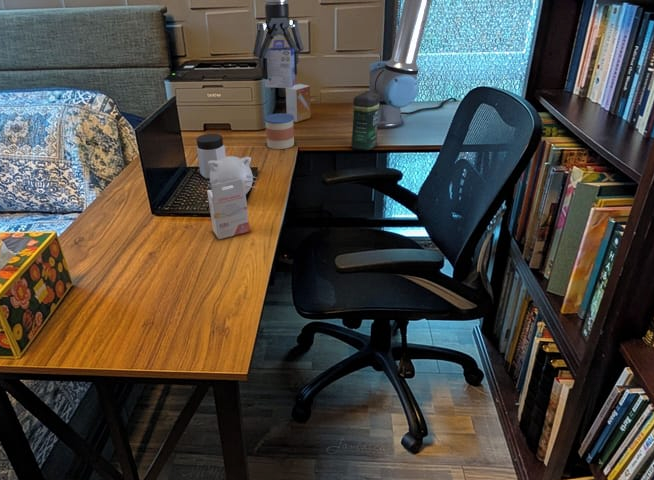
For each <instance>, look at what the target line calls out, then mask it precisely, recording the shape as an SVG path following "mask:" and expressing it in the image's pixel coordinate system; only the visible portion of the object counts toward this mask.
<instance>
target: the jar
mask: <svg viewBox="0 0 654 480" xmlns="http://www.w3.org/2000/svg"><path fill="white" fill-rule="evenodd" d="M195 141H196V154H197V161H198V167H199V174H200V175H201V176H202V177H203V178H204V179H208V180H209V179H210V172H211V168H210V167H209V165H208V161H218V160H219V159H221V158H224V157H227V154H226V145H224V139H223V136H222V134H219V133H205V134H201V135H198V136H197V137H196V139H195Z"/></svg>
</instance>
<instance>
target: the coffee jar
mask: <svg viewBox="0 0 654 480" xmlns="http://www.w3.org/2000/svg"><path fill="white" fill-rule="evenodd" d="M379 98H380V97H379V95H378V94H377V92H371V91H369V90H366V91H364V92H361V93H359V94H358V95H356V96H354V97H353V102H352V110H353V111H352V113H353V115H352V116H353V117H352V131H351V148H352V149H355V150H356V151H370V150H372V149H373V148H375V147H376V146H377V144H378V128H377V122H378V109H379Z"/></svg>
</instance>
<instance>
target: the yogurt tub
mask: <svg viewBox="0 0 654 480" xmlns="http://www.w3.org/2000/svg"><path fill="white" fill-rule="evenodd" d="M293 120H294V116H293V115H291V114H287V113H283V112H282V113H281V112H279V113H272V114H268V115H266V116H265V117H264V123H265V136H266V146H267V147H268V148H270V149H273V150H285V149H289V148H292V147H293V146H294V145H295V125H294V121H293Z"/></svg>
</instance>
